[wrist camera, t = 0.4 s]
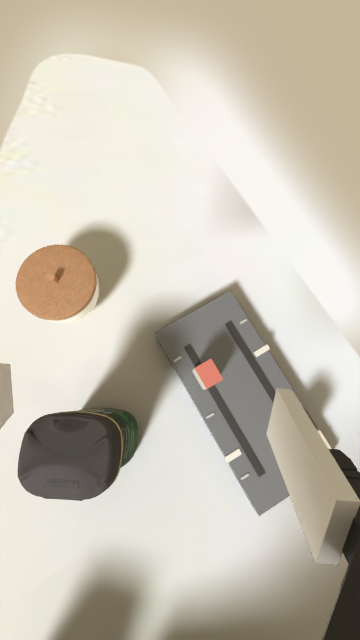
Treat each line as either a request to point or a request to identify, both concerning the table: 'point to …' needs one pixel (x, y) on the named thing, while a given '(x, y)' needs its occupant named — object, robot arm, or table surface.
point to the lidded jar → (58, 284)
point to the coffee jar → (76, 452)
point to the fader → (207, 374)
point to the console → (233, 391)
